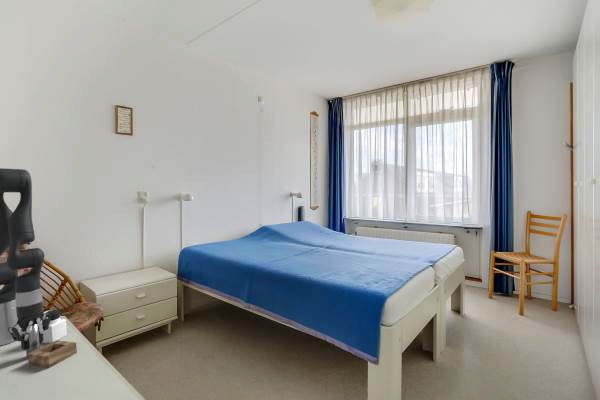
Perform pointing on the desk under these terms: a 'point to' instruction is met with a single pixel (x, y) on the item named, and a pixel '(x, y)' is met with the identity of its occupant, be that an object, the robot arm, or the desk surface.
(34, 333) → the peg
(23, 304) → the robot arm
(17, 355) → the desk surface
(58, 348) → the bore block
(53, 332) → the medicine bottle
